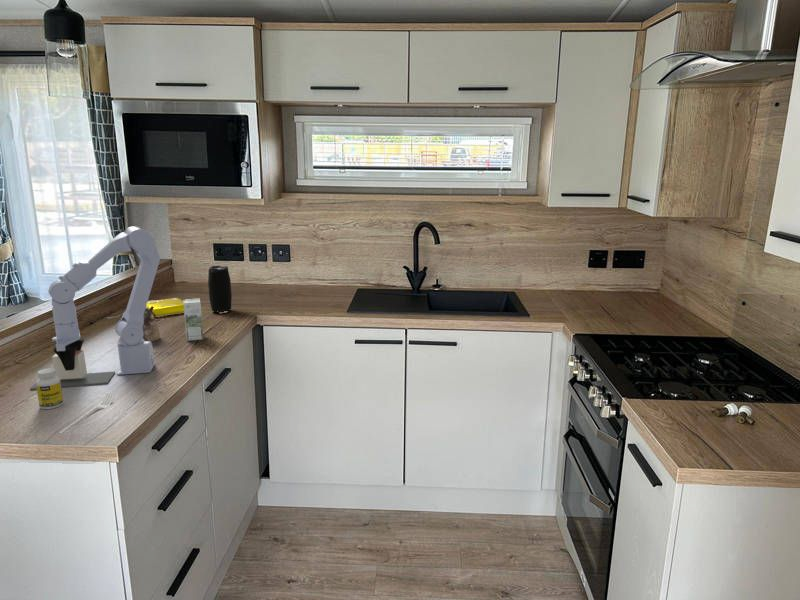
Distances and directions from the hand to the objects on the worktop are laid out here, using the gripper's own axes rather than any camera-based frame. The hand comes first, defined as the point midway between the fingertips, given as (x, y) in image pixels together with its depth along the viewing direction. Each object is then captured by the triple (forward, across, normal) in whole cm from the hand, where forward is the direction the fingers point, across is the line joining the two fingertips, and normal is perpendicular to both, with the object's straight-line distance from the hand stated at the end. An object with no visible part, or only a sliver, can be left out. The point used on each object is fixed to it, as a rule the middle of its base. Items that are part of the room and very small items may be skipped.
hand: (72, 367), depth 165 cm
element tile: (+5, -78, +14) cm, 79 cm away
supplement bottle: (+5, +17, -1) cm, 18 cm away
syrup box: (+5, -35, +30) cm, 46 cm away
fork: (+5, +26, +10) cm, 29 cm away
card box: (+3, 0, -1) cm, 3 cm away
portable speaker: (+5, -72, +37) cm, 81 cm away
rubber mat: (+4, 0, 0) cm, 4 cm away
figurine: (+5, -38, +14) cm, 41 cm away
